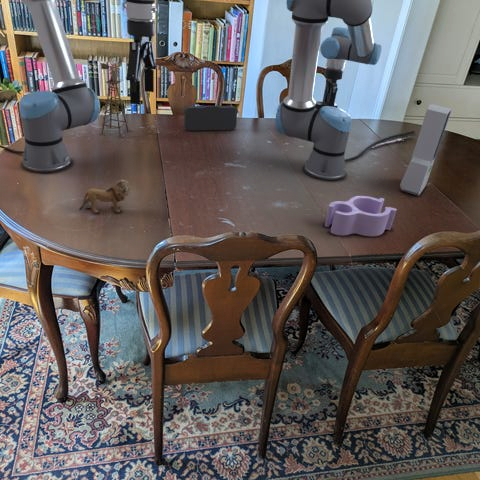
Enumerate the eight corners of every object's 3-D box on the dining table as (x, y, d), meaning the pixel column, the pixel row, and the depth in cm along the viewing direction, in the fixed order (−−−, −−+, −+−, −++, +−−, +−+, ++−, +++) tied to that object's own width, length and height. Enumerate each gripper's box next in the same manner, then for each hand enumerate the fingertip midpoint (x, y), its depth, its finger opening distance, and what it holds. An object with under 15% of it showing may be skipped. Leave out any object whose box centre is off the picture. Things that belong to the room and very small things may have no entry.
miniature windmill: (120, 137, 185) (116, 58, 169) (100, 134, 186) (94, 55, 170) (129, 130, 193) (126, 54, 176) (110, 127, 194) (105, 51, 177)
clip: (337, 240, 135) (342, 219, 131) (318, 218, 145) (322, 198, 141) (395, 233, 141) (402, 213, 137) (373, 213, 151) (378, 194, 147)
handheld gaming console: (234, 127, 207) (236, 105, 202) (236, 129, 205) (238, 107, 200) (183, 128, 200) (184, 105, 195) (185, 131, 198) (185, 107, 192)
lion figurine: (129, 202, 142) (128, 176, 137) (131, 211, 138) (130, 184, 133) (78, 207, 137) (75, 179, 132) (79, 216, 133) (76, 188, 128)
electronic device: (418, 197, 164) (446, 113, 148) (397, 190, 167) (423, 108, 151) (426, 185, 173) (454, 105, 157) (406, 179, 176) (431, 100, 160)
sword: (410, 136, 218) (410, 134, 218) (415, 138, 216) (416, 136, 216) (366, 148, 203) (366, 145, 202) (371, 151, 201) (372, 148, 200)
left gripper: (140, 27, 117) (142, 111, 128) (166, 15, 138) (165, 88, 149) (111, 24, 117) (115, 107, 129) (141, 12, 138) (142, 85, 150)
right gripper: (348, 74, 187) (336, 130, 200) (339, 64, 202) (329, 116, 215) (329, 72, 187) (319, 128, 199) (322, 62, 201) (313, 115, 214)
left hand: (142, 97), depth 139 cm, fingers open, 13 cm apart
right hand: (324, 122), depth 207 cm, fingers closed on bar, 4 cm apart
